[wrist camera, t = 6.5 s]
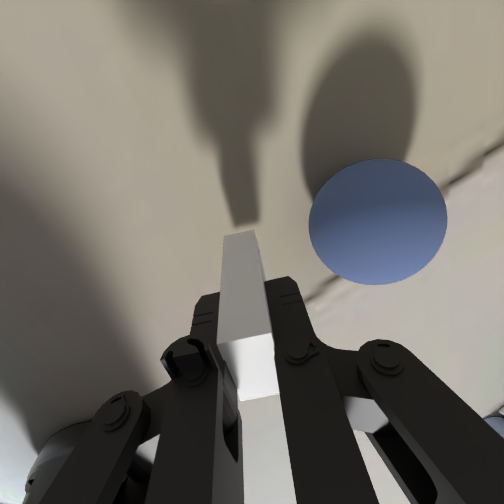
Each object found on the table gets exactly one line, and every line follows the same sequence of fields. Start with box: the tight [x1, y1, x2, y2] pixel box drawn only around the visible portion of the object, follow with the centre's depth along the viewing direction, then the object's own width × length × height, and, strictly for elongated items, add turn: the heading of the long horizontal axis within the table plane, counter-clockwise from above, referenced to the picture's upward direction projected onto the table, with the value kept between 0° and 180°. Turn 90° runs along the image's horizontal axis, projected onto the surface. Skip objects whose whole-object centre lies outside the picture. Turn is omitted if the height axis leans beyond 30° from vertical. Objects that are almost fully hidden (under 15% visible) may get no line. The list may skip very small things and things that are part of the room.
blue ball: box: [309, 159, 447, 285], centre depth 12 cm, size 6×6×6 cm
